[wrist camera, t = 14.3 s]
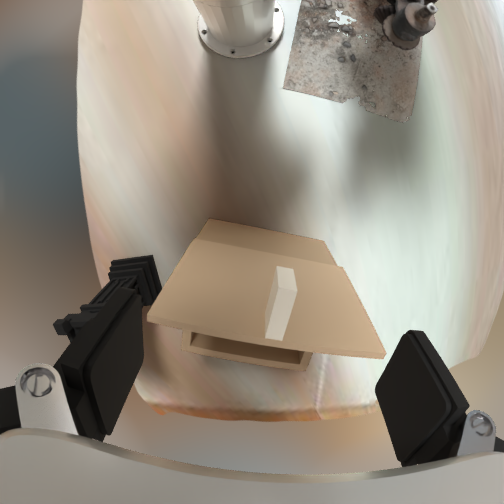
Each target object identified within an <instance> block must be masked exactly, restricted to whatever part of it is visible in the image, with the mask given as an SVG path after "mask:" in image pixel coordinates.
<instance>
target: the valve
mask: <svg viewBox="0 0 504 504" xmlns="http://www.w3.org/2000/svg"><path fill="white" fill-rule="evenodd" d="M437 1H438V0H301V5H300V10H299V14H298V19H297V24H296V29H295V34H294V38H293V43H292V47H291V52H290V57H289V62H288V67H287V71H286V76H285V81H284V86H283V88H285V89H290V90H294V91H299V92H303V93H307V94H311V95H315V96H319V97H323V98H326V99H330V100H334V101H337V102H340V103H343V102H345V101H347V99H350V98H355V96H356V97H358V96H359V97H360V101H359V102H358V103H359V105H360V106H365V108H366V111H369V112H372V113H375V114H378V115H381V116H384V117H386V115H387V117H386V118H389V119H392V120H395V121H397V122H398V121H399V122H402V123H403V122H404V121H408V120H410V118H408V119H407V117H409V116H411V115H412V110H413V105H414V99H415V94H416V88H417V82H418V75H419V67H420V58H421V48H422V37H423V36H424V35H425V34H427V33H428V32H430V31H431V30H432V29H433V28H434V26H435V24H436V23H435V17H434V14H435V13H436V12H437V11H438V8H437V7H436V6H435V5H434V4H435V2H437ZM336 9H337V10H338V11H343V12H342V13H341V14H342V15H347V16H351V17H352V18H353V19H356V20H357V21H356V22H352V23H351V24H348V25H346V24H344V25H339V24H338V23H337V22H328V20H330V19H334V20H336V18H337V20H338V21H339V17H336V14H335V11H337V10H336ZM347 21H348V22H350V20H349V19H347ZM338 29H339V31H340V32H337V31H338ZM343 33H345V35H344V34H343ZM347 33H348V37H347V36H346V35H347ZM361 34H362V35H361ZM365 34H367V35H368V36H367V37H365ZM356 35H357V36H359V35H361V36H362V38H364V39H361V38H358V37H357V36H356ZM366 39H367V43H365V42H366ZM373 90H374V91H373ZM346 98H347V99H346ZM369 102H374V103H375V108H374V107H373V106H371V105H370V103H369Z"/></svg>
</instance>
